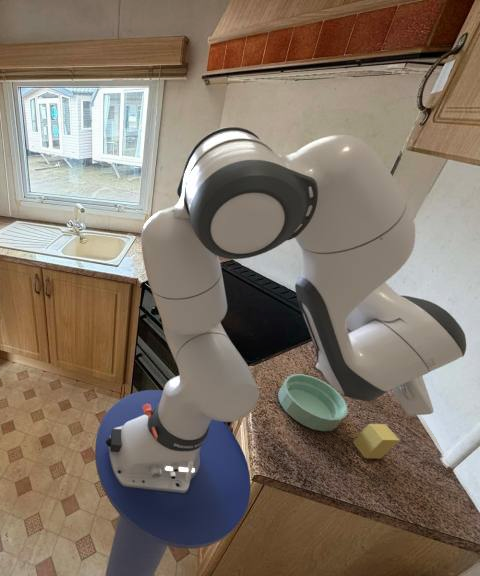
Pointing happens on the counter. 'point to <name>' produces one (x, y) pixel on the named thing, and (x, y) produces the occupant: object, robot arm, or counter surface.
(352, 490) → the counter surface
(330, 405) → the bowl
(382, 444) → the butter
